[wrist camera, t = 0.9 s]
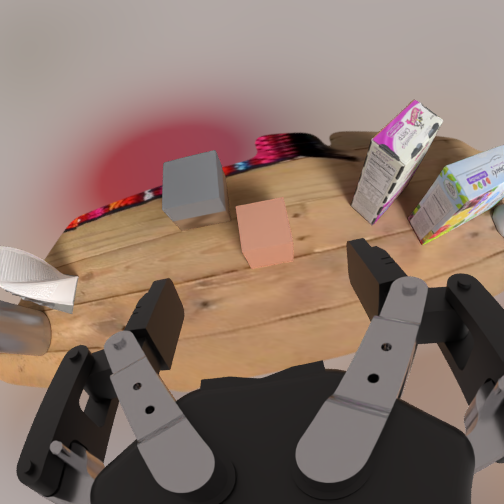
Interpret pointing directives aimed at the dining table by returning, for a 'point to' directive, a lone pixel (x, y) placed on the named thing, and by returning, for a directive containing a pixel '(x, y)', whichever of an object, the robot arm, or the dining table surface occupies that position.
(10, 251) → the twisted tower model
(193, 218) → the walnut block
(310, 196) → the dining table surface
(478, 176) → the snack box
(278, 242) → the salmon orange block
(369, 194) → the candy bar box
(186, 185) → the gray block
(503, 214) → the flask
